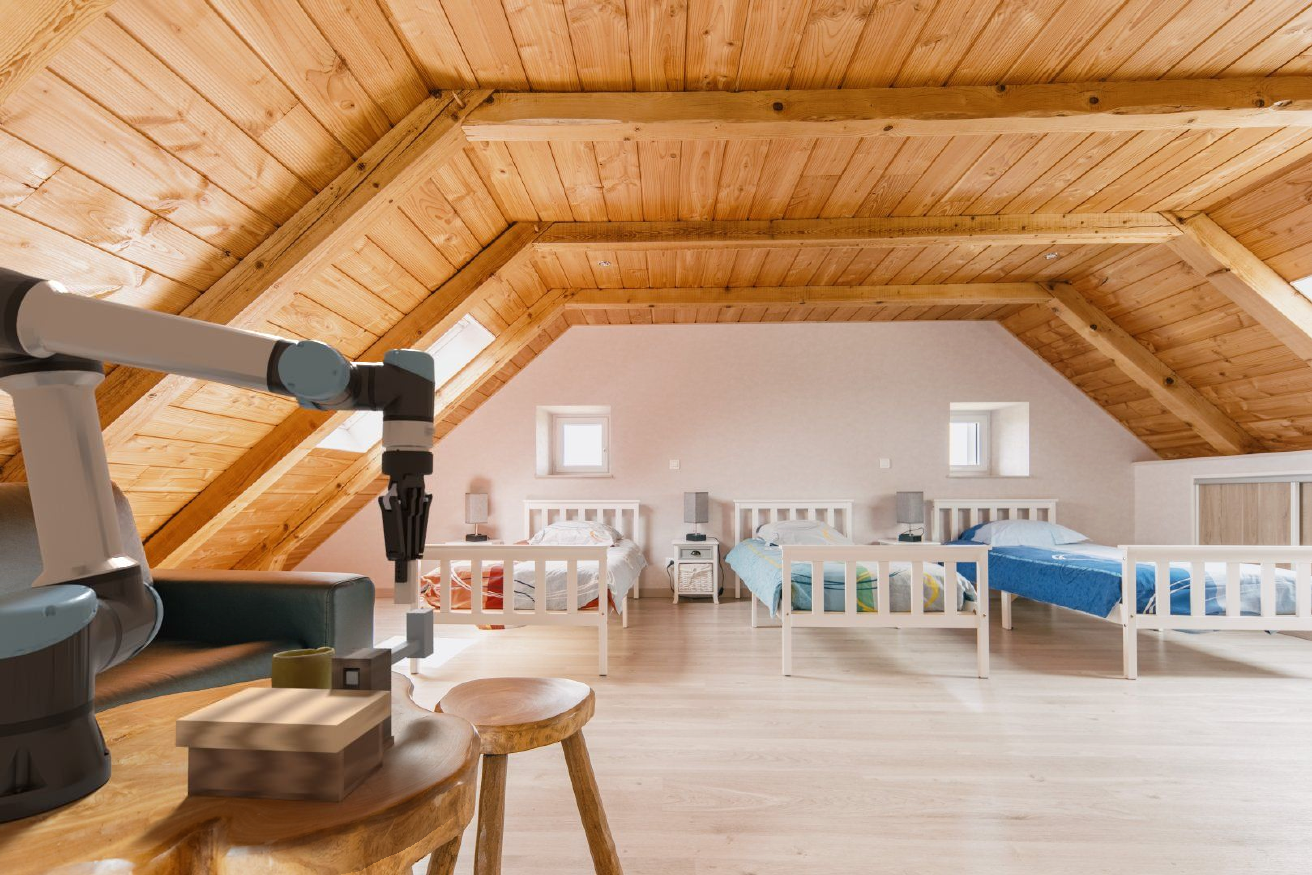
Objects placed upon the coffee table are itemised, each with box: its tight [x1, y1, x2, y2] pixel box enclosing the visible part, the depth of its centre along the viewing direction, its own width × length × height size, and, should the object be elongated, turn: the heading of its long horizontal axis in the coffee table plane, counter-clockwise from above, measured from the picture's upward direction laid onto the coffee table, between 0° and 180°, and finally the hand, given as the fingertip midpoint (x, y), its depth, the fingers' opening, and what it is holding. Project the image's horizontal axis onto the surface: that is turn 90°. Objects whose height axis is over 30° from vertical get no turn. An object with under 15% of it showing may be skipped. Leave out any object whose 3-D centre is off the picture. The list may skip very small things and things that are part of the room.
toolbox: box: [187, 647, 395, 803], centre depth 84 cm, size 19×16×13 cm
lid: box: [175, 686, 392, 753], centre depth 81 cm, size 20×12×4 cm, turn 83°
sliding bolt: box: [346, 608, 434, 684], centre depth 97 cm, size 3×20×7 cm, turn 172°
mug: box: [270, 646, 336, 689], centre depth 110 cm, size 12×10×10 cm
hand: (404, 602), depth 102 cm, fingers closed
